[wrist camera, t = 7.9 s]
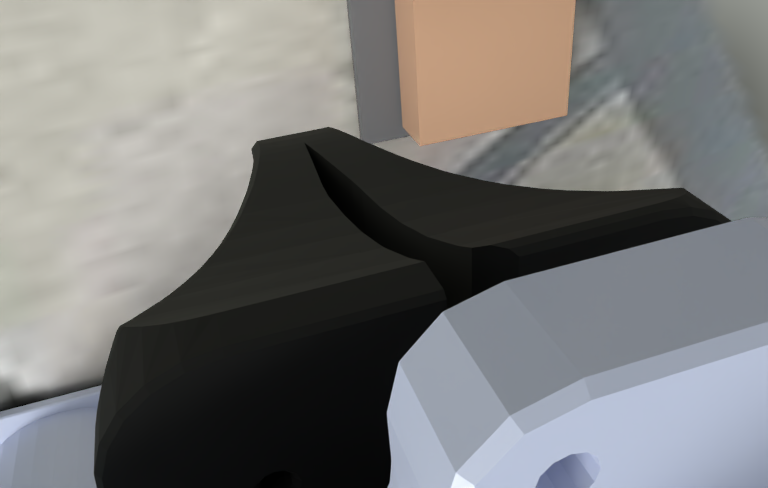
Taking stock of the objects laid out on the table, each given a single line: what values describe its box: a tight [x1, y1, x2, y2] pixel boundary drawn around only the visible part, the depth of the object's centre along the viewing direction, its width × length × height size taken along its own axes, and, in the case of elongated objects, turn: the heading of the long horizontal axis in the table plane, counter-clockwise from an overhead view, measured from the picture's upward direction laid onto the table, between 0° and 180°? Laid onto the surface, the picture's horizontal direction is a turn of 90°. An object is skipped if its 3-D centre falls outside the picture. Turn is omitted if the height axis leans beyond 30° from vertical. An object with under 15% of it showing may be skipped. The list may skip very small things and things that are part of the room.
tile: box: [395, 0, 576, 146], centre depth 21 cm, size 5×2×5 cm
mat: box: [347, 0, 410, 144], centre depth 22 cm, size 6×6×1 cm
